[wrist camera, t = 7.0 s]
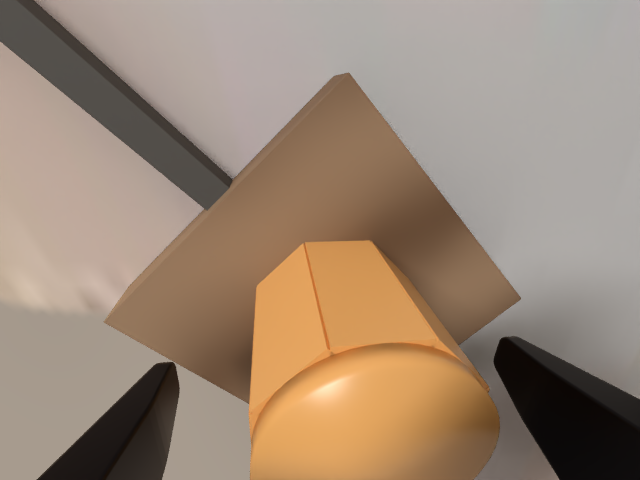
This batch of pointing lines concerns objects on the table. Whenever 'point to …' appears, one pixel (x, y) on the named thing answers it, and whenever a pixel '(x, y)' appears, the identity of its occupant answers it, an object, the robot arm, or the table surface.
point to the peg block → (308, 239)
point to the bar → (108, 99)
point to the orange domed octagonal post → (360, 376)
